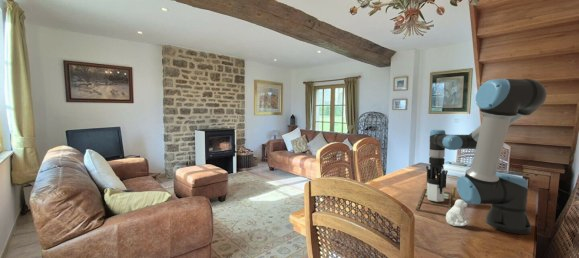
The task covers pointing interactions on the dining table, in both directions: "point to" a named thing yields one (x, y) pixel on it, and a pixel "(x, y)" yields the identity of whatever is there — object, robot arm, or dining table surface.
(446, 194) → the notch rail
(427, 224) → the dining table surface
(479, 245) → the dining table surface
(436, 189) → the jar
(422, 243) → the dining table surface
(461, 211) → the white animal figurine
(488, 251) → the dining table surface
